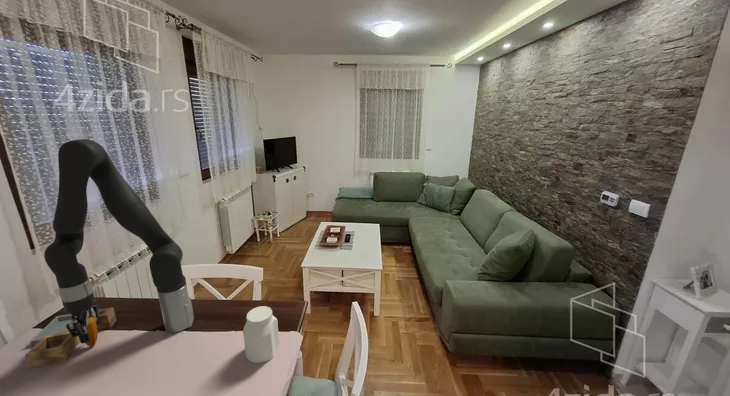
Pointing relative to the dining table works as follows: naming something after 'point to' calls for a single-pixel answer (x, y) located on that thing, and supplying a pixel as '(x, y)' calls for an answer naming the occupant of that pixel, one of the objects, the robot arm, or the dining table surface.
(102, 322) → the walnut block
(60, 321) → the tray
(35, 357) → the wooden crate
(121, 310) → the dining table surface
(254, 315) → the jar
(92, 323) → the carrot
